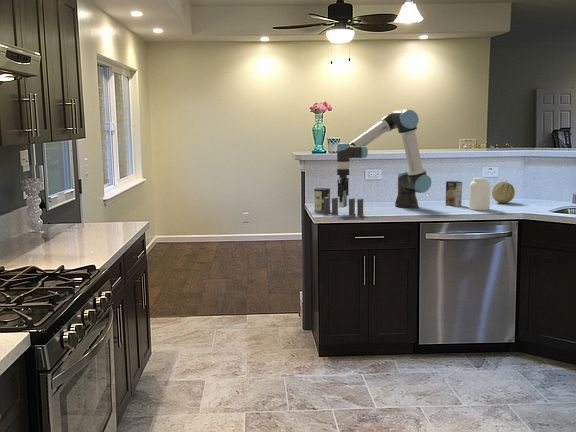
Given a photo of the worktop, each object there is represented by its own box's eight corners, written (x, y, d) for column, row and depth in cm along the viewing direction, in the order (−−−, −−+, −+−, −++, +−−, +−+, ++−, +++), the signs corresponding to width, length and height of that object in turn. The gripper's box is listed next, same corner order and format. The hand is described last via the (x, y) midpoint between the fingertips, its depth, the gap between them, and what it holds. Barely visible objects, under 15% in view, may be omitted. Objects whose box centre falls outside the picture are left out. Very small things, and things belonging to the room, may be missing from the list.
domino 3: (354, 214, 375) (354, 198, 374) (351, 215, 371) (351, 199, 369) (351, 214, 376) (351, 198, 375) (348, 215, 372) (348, 198, 370)
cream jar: (472, 207, 397) (473, 176, 394) (492, 208, 390) (493, 177, 387) (466, 209, 387) (466, 178, 384) (485, 211, 380) (486, 179, 377)
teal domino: (345, 206, 377) (346, 190, 375) (343, 207, 372) (343, 191, 371) (342, 206, 378) (343, 190, 376) (340, 207, 373) (340, 191, 372)
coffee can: (331, 209, 399) (331, 188, 397) (329, 211, 389) (329, 189, 387) (315, 209, 401) (315, 188, 399) (313, 211, 391) (313, 189, 389)
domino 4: (363, 214, 373) (363, 198, 371) (360, 215, 368) (360, 199, 367) (360, 214, 374) (360, 198, 372) (357, 215, 369) (357, 199, 368)
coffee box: (444, 205, 412) (445, 181, 410) (451, 204, 416) (451, 180, 413) (455, 206, 405) (456, 182, 402) (462, 205, 408) (462, 181, 406)
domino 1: (329, 213, 382) (329, 197, 381) (326, 214, 378) (326, 198, 376) (326, 212, 383) (326, 197, 382) (323, 214, 379) (323, 198, 377)
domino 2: (338, 213, 380) (337, 197, 379) (335, 214, 376) (334, 198, 374) (335, 213, 381) (334, 197, 379) (332, 214, 376) (331, 198, 375)
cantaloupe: (488, 203, 415) (489, 181, 413) (495, 201, 427) (495, 179, 425) (511, 204, 407) (512, 182, 405) (517, 202, 419) (517, 180, 417)
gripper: (342, 167, 381) (342, 204, 385) (331, 169, 365) (331, 208, 369) (354, 167, 378) (353, 205, 381) (343, 169, 362) (343, 208, 365)
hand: (343, 206), depth 375 cm, fingers closed on teal domino, 5 cm apart
